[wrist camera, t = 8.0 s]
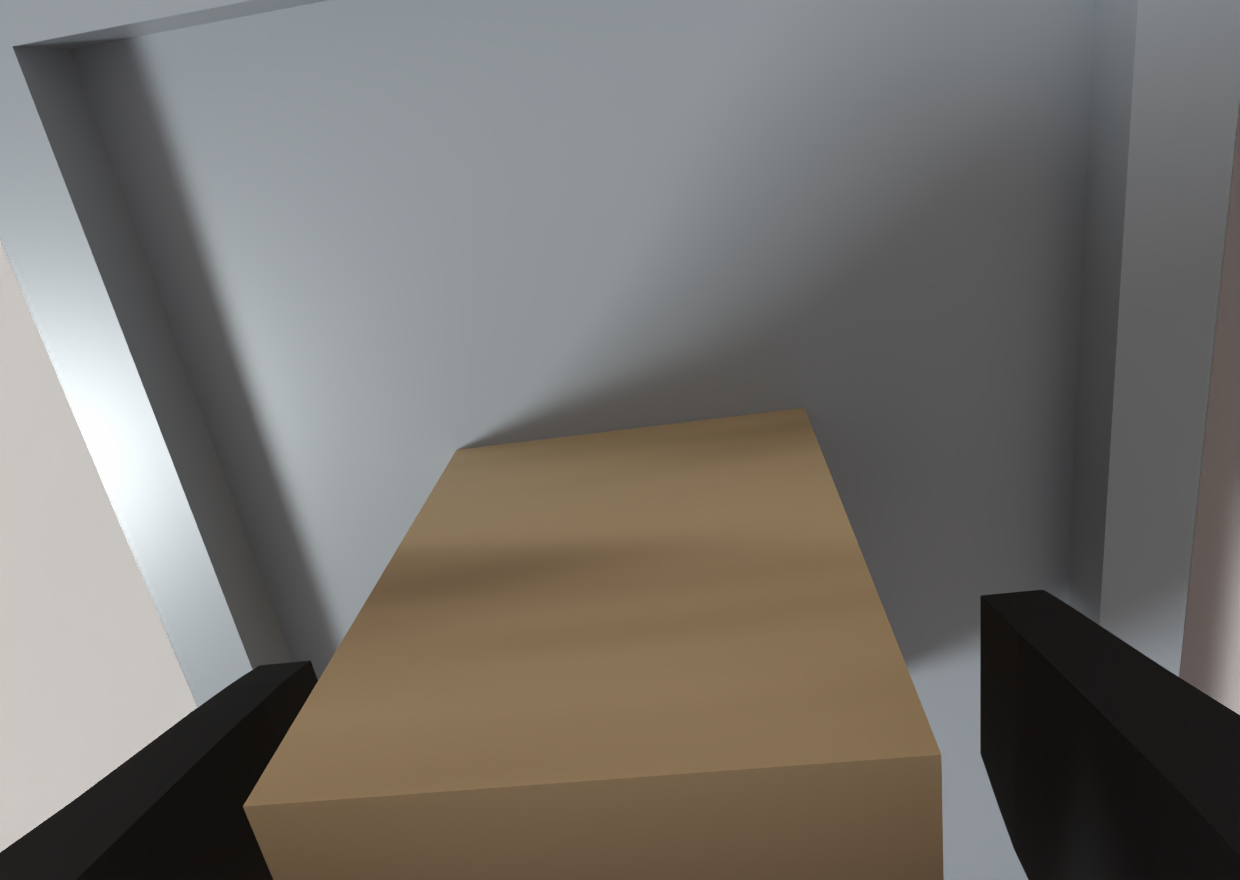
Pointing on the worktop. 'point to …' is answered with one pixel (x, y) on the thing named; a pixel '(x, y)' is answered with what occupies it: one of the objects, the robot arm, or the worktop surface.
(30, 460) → the worktop surface
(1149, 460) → the slate tray
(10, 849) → the robot arm
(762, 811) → the oak block
